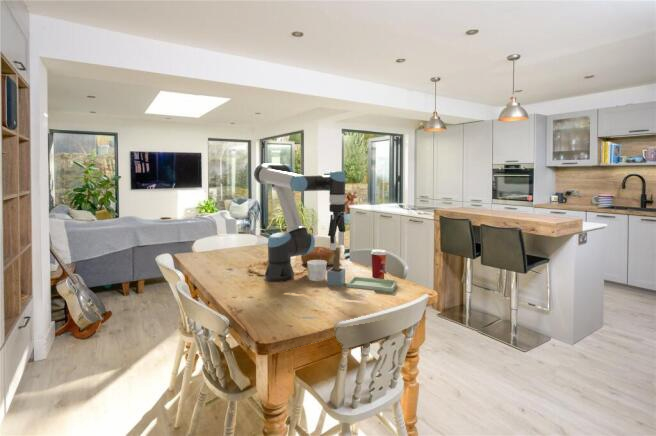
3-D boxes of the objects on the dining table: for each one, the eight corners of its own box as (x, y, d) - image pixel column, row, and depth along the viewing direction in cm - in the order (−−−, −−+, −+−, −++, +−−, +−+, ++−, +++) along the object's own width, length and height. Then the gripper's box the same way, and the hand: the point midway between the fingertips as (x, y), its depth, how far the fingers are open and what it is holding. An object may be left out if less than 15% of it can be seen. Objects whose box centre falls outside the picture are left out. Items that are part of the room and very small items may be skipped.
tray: (346, 288, 188) (346, 283, 188) (353, 281, 201) (353, 276, 201) (392, 293, 181) (392, 288, 181) (396, 285, 195) (396, 280, 194)
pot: (327, 287, 191) (327, 271, 190) (331, 283, 197) (331, 267, 196) (341, 288, 188) (341, 272, 187) (345, 284, 195) (345, 268, 194)
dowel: (332, 284, 192) (332, 248, 190) (334, 282, 195) (334, 247, 192) (338, 284, 191) (338, 248, 189) (340, 283, 194) (340, 247, 192)
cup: (329, 279, 204) (329, 261, 203) (321, 284, 195) (321, 265, 194) (312, 277, 208) (312, 259, 207) (303, 282, 199) (303, 263, 198)
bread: (339, 268, 228) (340, 251, 227) (299, 268, 228) (299, 251, 227) (339, 259, 251) (339, 244, 250) (302, 259, 251) (302, 243, 250)
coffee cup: (385, 281, 202) (386, 252, 200) (369, 280, 203) (370, 251, 201) (386, 277, 210) (387, 249, 208) (371, 276, 211) (371, 248, 210)
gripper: (337, 205, 175) (337, 252, 177) (351, 202, 199) (351, 243, 201) (321, 205, 177) (321, 251, 180) (337, 201, 201) (337, 242, 203)
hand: (337, 247), depth 190 cm, fingers open, 13 cm apart
